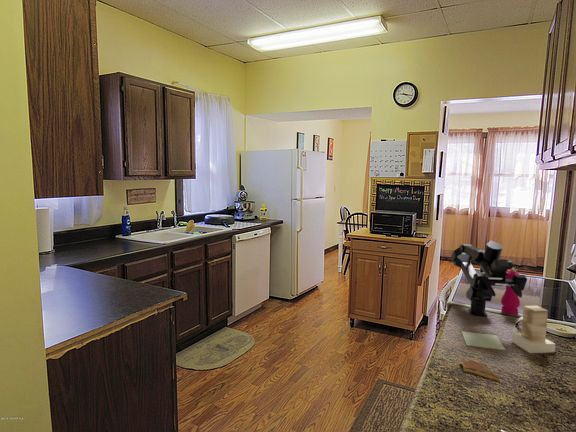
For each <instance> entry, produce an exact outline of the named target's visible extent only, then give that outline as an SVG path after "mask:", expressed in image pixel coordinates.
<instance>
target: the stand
mask: <svg viewBox="0 0 576 432" xmlns="http://www.w3.org/2000/svg"><path fill="white" fill-rule="evenodd" d="M521 334H522V332H519V333H517V332H515V333H512V334H511V343H514V344H515V345H517V346H518V347H520V348H521V349H523V350H524V351H526V352H528V354H544V353H555V352H556V343H554V342H553V341H551V340H550V339H547V338H546V339H545V341H543V342H531V341H529V340H528V339H526V338H524V337H523V336H521Z"/></svg>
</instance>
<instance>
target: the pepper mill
mask: <svg viewBox="0 0 576 432" xmlns="http://www.w3.org/2000/svg"><path fill="white" fill-rule="evenodd" d="M506 272H507V276H505V278H506V279H512V277H513V275H520V274H519V273H518V272H517V271H516V268H515V267H512V269H509V270H507V271H506ZM500 303H501V305H502V306H501V312H502V313H505V314H508V315H517V314H518V313H519V309H518V308H519V307H520V306H521V301H520V297H519V296H518V295H516V294H515V293H514V292H513V289H512V288H511V286H508V285H505V291H504V293H503V294H502V297H501V299H500Z"/></svg>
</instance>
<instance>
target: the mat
mask: <svg viewBox="0 0 576 432" xmlns="http://www.w3.org/2000/svg"><path fill="white" fill-rule="evenodd" d="M461 335H462V336H463V339H464V341H465V344H466V346H468V347H476V348H484V349H492V350H499V351H500V350H501V351H506V348H505V346H504V345H503V344H502V342H501V340H500V338H499V337H498V336H497V334H496V335H495V334H488V333H478V332H469V331H463V330H462V331H461Z"/></svg>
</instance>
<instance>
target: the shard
mask: <svg viewBox="0 0 576 432" xmlns="http://www.w3.org/2000/svg"><path fill="white" fill-rule="evenodd" d="M458 362H459V363H460V365H462V367H463V370H462V371H463V372H466V373H472V374H475V375H477V376H481V377H484V378H487V379H490V380H495V381H498V382H499V381H500V380H501V378H502V377H500V376H498V375H497V374H496V373H494V371H493V370H492V369H490V368H489V367H488V366H487V365H485V364H484V363H482V362H481V361H479V360H474V359H460V360H459V361H458Z"/></svg>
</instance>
